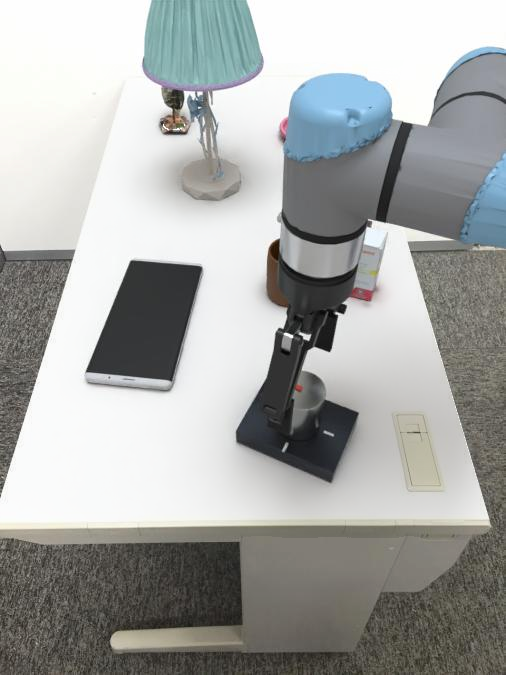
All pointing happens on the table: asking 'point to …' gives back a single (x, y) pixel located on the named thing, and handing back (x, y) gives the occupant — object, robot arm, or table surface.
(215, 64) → the table lamp
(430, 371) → the table surface
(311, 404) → the knob
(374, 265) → the ink box
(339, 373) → the table surface
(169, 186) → the table surface
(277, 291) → the mug
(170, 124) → the plant with pod
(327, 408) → the control panel
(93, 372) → the smartphone
